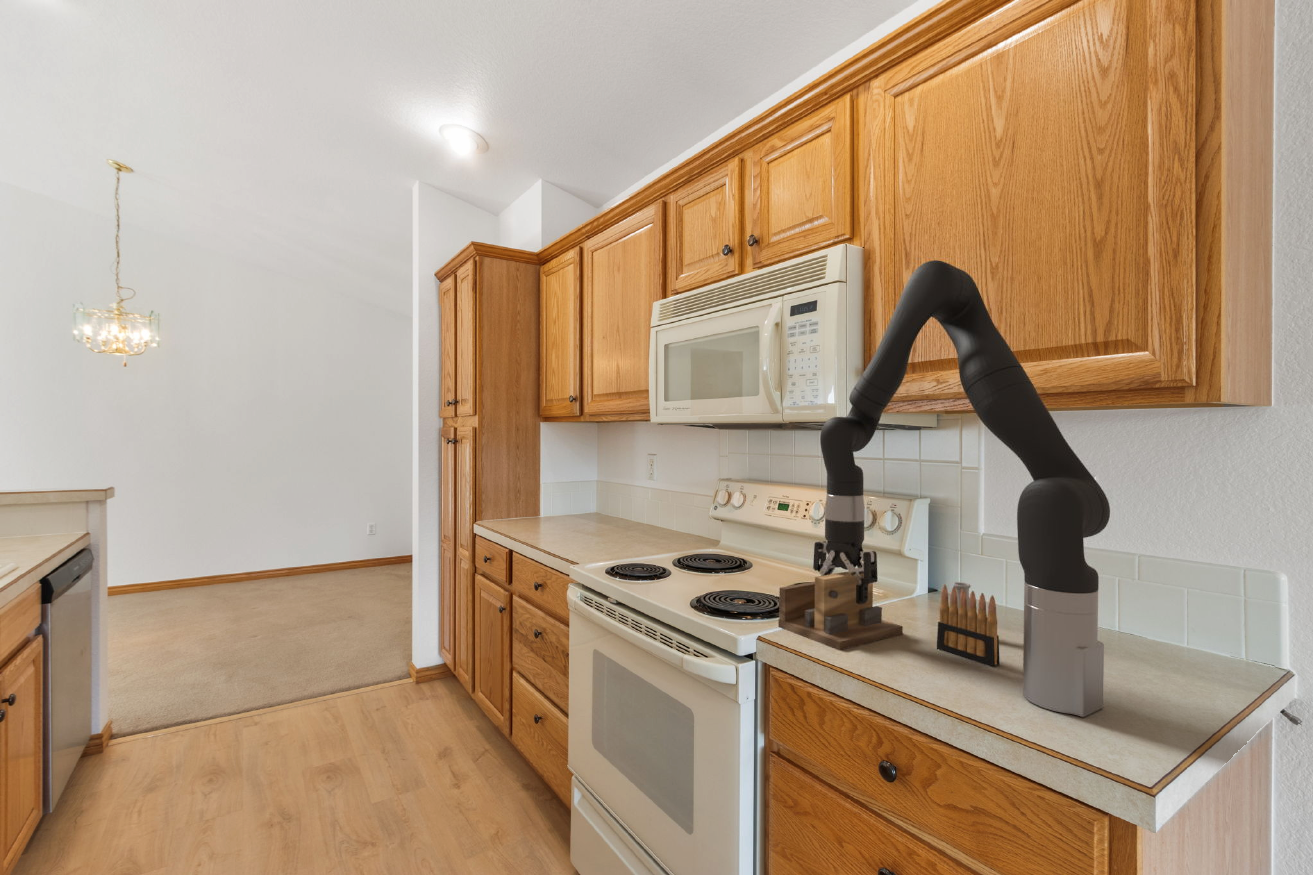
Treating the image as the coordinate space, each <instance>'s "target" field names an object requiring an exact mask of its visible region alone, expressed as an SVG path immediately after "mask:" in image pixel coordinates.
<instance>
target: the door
mask: <svg viewBox="0 0 1313 875" xmlns="http://www.w3.org/2000/svg"><path fill="white" fill-rule="evenodd" d="M870 573H871V572H870ZM814 582H815V624H814V628H816V629H818V630H821V631H825V617H828V616H833V615H837V614H842V613H843V614H847V615H848V626H850V625H854V624H858V623H860V610H861V609H865V608H870V607H874V605H873V604H874V603H873V602H874V601H873V600H874V599H873V598H874V597H873V596H874V594H873V593H874V583H870V584H869V585H868V600H867V601H866V603H864V604H857V603H856V585H857V582H856V581H855V579H854V577H853V575H851V574H850V573H849V571H848V570H847V571H844V572H843V571H841V572H838V573H832V574H830V575H824V576H821V575H819V576H815V577H814Z"/></svg>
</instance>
